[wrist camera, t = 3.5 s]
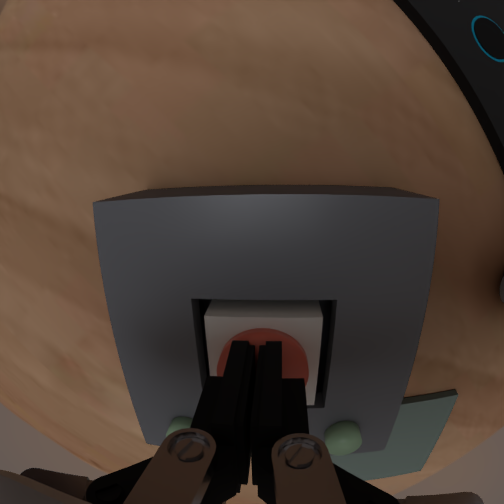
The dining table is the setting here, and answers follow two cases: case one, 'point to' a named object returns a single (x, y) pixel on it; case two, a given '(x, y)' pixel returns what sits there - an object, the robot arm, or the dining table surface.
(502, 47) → the smart home device
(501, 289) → the light bulb
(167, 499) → the robot arm
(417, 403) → the mat
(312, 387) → the button
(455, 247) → the dining table surface
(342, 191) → the grey button control box
